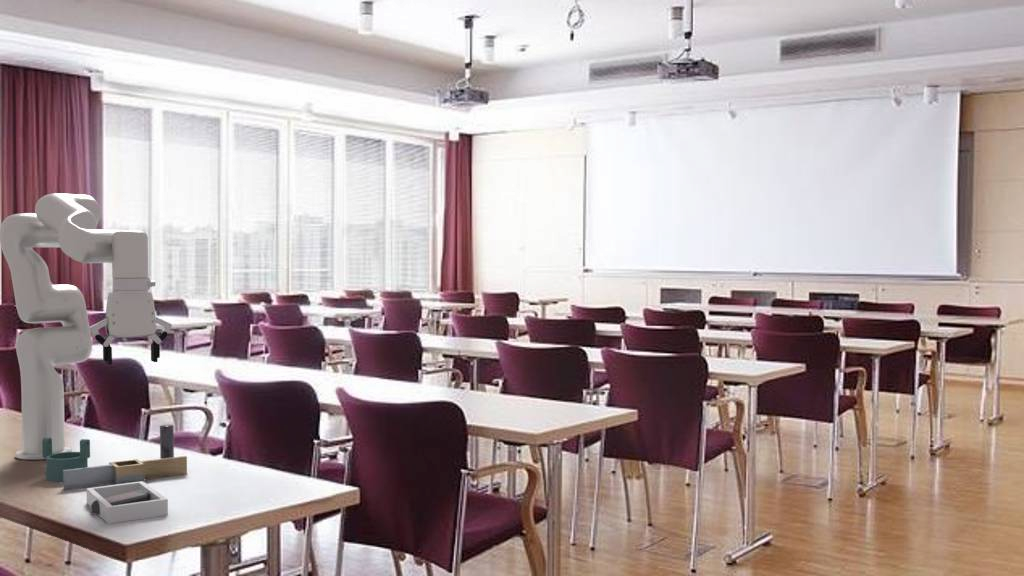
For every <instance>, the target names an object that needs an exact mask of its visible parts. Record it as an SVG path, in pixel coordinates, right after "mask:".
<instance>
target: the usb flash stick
mask: <svg viewBox="0 0 1024 576" xmlns="http://www.w3.org/2000/svg"><path fill="white" fill-rule="evenodd" d="M104 499H105V500H106V501H107V502H108V503H110V504H111V505H112V506H114V505H121V504H129V503H136V502H143V501H150V494H149V492H148V491H143V490H135V491H132V492H128V493H124V494H120V495H115V496H111V497H107V498H104ZM90 513H91V514H93V515H98V516H100V506H99V502H98V501H97V500H96V501H94V502H93V503H92V505H91V507H90Z"/></svg>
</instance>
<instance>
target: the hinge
mask: <svg viewBox="0 0 1024 576" xmlns="http://www.w3.org/2000/svg"><path fill="white" fill-rule="evenodd" d="M187 459H188V457H187V455H182V456H174V457H171V458H162V459H160V458H155V459H147V460H139V459H137V458H136V459H126V460H120V461H119V460H118V461H110V462H109V463H108V464H105V465H97V466H88V467H86V468H77V469H69V470H63V482H62V489H63V490H73V489H80V488H90V487H98V486H106V485H117V484H125V483H132V482H140V481H143V482H145V483H146V481H145V480H150V479H157V478H158V479H159V478H166V477H172V476H173V477H174V476H181V475H188V462H187V461H188V460H187Z"/></svg>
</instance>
